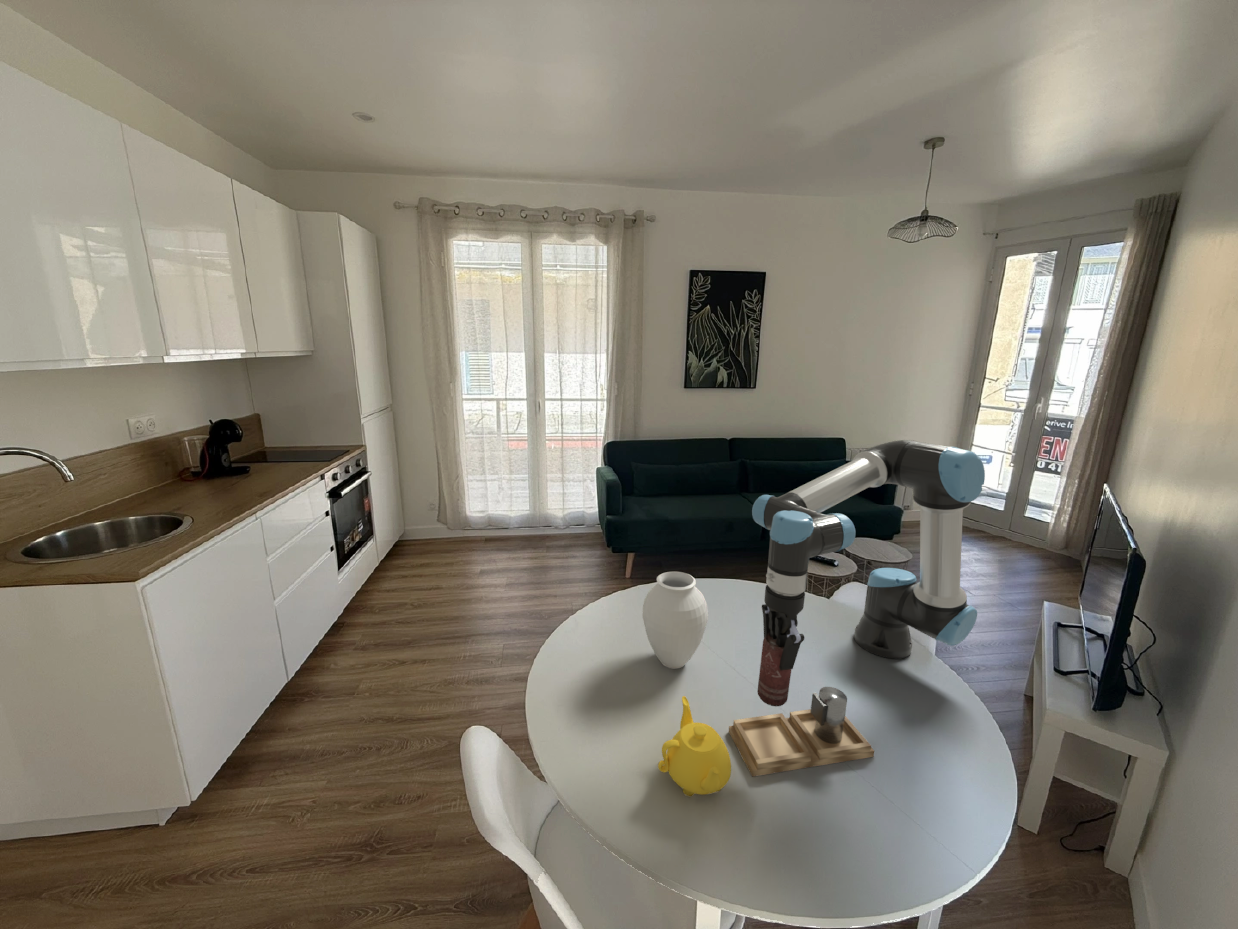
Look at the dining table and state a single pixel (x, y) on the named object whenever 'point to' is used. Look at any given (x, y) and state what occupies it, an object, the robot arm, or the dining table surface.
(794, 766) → the tray
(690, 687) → the dining table surface
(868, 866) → the dining table surface
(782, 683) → the can
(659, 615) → the vase
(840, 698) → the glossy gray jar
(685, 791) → the teapot
